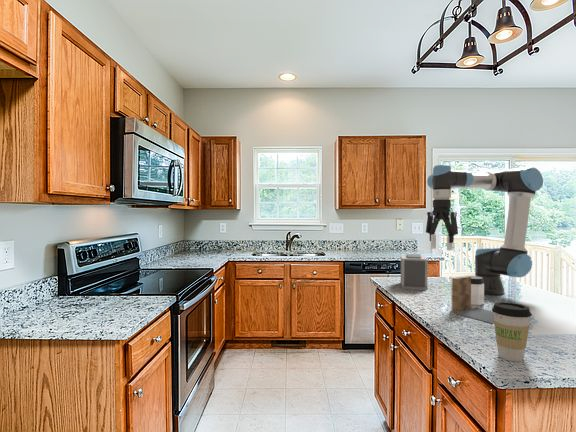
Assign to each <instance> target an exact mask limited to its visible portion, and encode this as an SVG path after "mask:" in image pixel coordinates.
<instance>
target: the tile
mask: <svg viewBox="0 0 576 432" xmlns="http://www.w3.org/2000/svg"><path fill="white" fill-rule="evenodd" d="M470 276H471V275H463V276H462V275H461V276H456V277H455V276H454V277H451V282H450V283H451V284H450V286H451V288H450V289H451V294H450V296H451V298H450V299H451V302H450V303H451V304H450V309H451V311H452V312H459V311H463V310H467V309H472V305H471V277H470Z"/></svg>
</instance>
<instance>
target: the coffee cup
mask: <svg viewBox="0 0 576 432" xmlns="http://www.w3.org/2000/svg"><path fill="white" fill-rule="evenodd" d="M491 311H493V312H494V332H495V340H496V344H497V345H496V346H497V354H498V356H499V358H501V359H503V360H505V361H509V362H516V363H517V362H523V361H524V358H525V352H526V348H527V342H528V336H529V329H530V317H532V315H533V314H532V312H531V311H530V307H529V306H527V305H524V304H520V303H516V302H510V301H509V302H507V301H499V302H498V301H497V302H494V305H493V306H492V308H491Z"/></svg>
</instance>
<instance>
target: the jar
mask: <svg viewBox="0 0 576 432" xmlns="http://www.w3.org/2000/svg"><path fill="white" fill-rule="evenodd" d="M469 276H470V277H471V306H481V305H484V304H485V294H484V284H483V278H482V277H478V276H475V275H469Z"/></svg>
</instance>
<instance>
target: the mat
mask: <svg viewBox="0 0 576 432" xmlns="http://www.w3.org/2000/svg"><path fill="white" fill-rule="evenodd" d="M453 314H455V315H459V316H462V317H466V318H469V319H473V320H477V321H481V322H484V323H488V324H491V325H493V324H494V312H493V311H492V310H489V309H484V308H481V307H471V309H467V310H463V311H459V312H455V311H453Z"/></svg>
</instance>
